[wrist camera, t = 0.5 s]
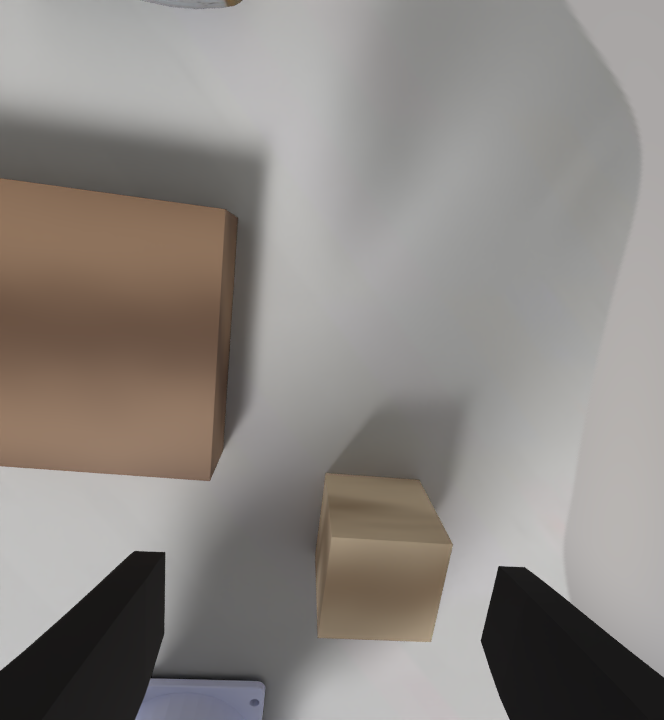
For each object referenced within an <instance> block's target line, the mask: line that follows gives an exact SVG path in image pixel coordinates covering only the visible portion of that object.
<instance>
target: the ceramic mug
mask: <svg viewBox="0 0 664 720" xmlns="http://www.w3.org/2000/svg"><path fill="white" fill-rule="evenodd" d="M142 1H146V2H151V3H156V4H161V5H165V6H170V7H179V8H190V9H205V8H224V7H230V6H235V5H237V4H238V3H240V2H241V1H242V0H142Z"/></svg>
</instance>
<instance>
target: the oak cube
mask: <svg viewBox="0 0 664 720" xmlns="http://www.w3.org/2000/svg"><path fill="white" fill-rule="evenodd" d="M452 546H453V544H452V542H451V540H450V538H449V536H448V534H447V532H446V531H445V529H444V527H443V525H442V523H441V521H440V519H439V517H438V515H437V513H436V511H435V509H434V507H433V506H432V504H431V502H430V500H429V498H428V496H427V494H426V492H425V490H424V488H423V486H422V484H421V483H420V481H419V480H413V479H400V478H387V477H373V476H360V475H346V474H333V473H326V475H325V483H324V490H323V498H322V506H321V513H320V521H319V529H318V537H317V544H316V552H315V566H316V598H317V631H318V638H335V639H362V640H389V641H416V642H431V640H432V635H433V631H434V626H435V622H436V617H437V613H438V608H439V604H440V600H441V595H442V591H443V586H444V582H445V577H446V573H447V568H448V564H449V559H450V555H451V550H452Z"/></svg>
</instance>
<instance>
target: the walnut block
mask: <svg viewBox="0 0 664 720" xmlns="http://www.w3.org/2000/svg"><path fill="white" fill-rule="evenodd" d="M237 225H238V218H237V217H236V216H234V215H233V214H231V213H230V212H229V211H227V210H226V209H220V208H212V207H205V206H198V205H191V204H183V203H176V202H169V201H162V200H154V199H147V198H140V197H133V196H125V195H118V194H111V193H104V192H96V191H89V190H82V189H75V188H67V187H60V186H53V185H46V184H38V183H31V182H24V181H17V180H9V179H2V178H0V466H6V467H20V468H34V469H48V470H62V471H76V472H90V473H104V474H118V475H132V476H146V477H160V478H174V479H188V480H203V481H210V480H211V477H212V475H213V473H214V470H215V468H216V466H217V463H218V461H219V459H220V456H221V454H222V452H223V445H224V429H225V413H226V398H227V382H228V366H229V351H230V335H231V319H232V304H233V288H234V272H235V257H236V241H237Z"/></svg>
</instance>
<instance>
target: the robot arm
mask: <svg viewBox="0 0 664 720" xmlns="http://www.w3.org/2000/svg"><path fill="white" fill-rule="evenodd" d="M164 613H165V552H144V551H134V552H133V553H132V554H130V555H129V556H128V557H127V558H126V559H125V560H124V561H123V562H122V563H120V564H119V565H118V566H117V567H116V568H115V569H114V570H113V571H112V572H111V573H110V574H109V575H108V576H107V577H105V578H104V579H103V580H102V581H101V582H100V583H99V584H98V585H97V586H96V587H95V588H94V589H93V590H92V591H90V592H89V593H88V594H87V595H86V596H85V597H84V598H83V599H82V600H81V601H80V602H79V603H77V604H76V605H75V606H74V607H73V608H72V609H71V610H70V611H69V612H67V613H66V614H65V615H64V616H63V617H62V618H61V619H60V620H58V621H57V622H56V623H55V624H54V625H53V626H52V627H51V628H49V629H48V630H47V631H46V632H45V633H44V634H43V635H42V636H40V637H39V638H38V639H37V640H36V641H35V642H34V643H33V644H31V645H30V646H29V647H28V648H27V649H26V650H25V651H23V652H22V653H21V654H20V655H19V656H18V657H16V658H15V659H14V660H13V661H12V662H10V663H9V664H8V665H7V666H6V667H4V668H3V669H2V670H1V671H0V720H262V716H263V707H264V697H265V685H264V684H263V683H262V682H260V681H238V680H198V679H158V678H151V675H152V672H153V669H154V666H155V662H156V659H157V656H158V652H159V649H160V646H161V642H162V639H163V636H164ZM481 643H482V646H483V649H484V652H485V655H486V658H487V661H488V665H489V668H490V671H491V674H492V676H493V679H494V682H495V685H496V688H497V691H498V693H499V696H500V699H501V701H502V703H503V706H504V708H505V710H506V713H507V715H508V717H509V719H510V720H664V677H662V676H661V675H660V674H659V673H657V672H656V671H654V670H653V669H652V668H651V667H649V666H648V665H647V664H646V663H644V662H643V661H642V660H640V659H639V658H638V657H637V656H635V655H634V654H633V653H632V652H630V651H629V650H628V649H627V648H625V647H624V646H623V645H622V644H620V643H619V642H618V641H617V640H615V639H614V638H613V637H612V636H610V635H609V634H608V633H607V632H605V631H604V630H603V629H602V628H601V627H599V626H598V625H597V624H596V623H594V622H593V621H592V620H591V619H589V618H588V617H587V616H586V615H584V614H583V613H582V612H581V611H580V610H578V609H577V608H576V607H575V606H573V605H572V604H571V603H570V602H569V601H567V600H566V599H565V598H564V597H562V596H561V595H560V594H559V593H557V592H556V591H555V590H554V589H552V588H551V587H550V586H549V585H547V584H546V583H545V582H544V581H542V580H541V579H540V578H538V577H537V576H536V575H534V574H533V573H532V572H530V571H529V570H528V569H526V568H525V567H504V566H499V567H498V571H497V576H496V580H495V584H494V588H493V592H492V596H491V601H490V605H489V609H488V613H487V617H486V621H485V625H484V630H483V634H482V638H481Z"/></svg>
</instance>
